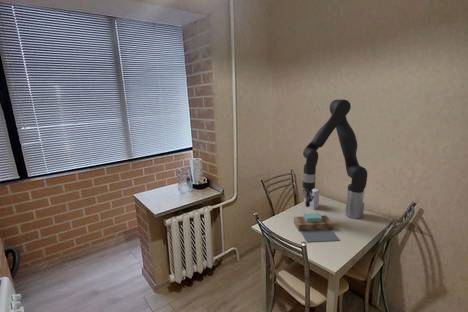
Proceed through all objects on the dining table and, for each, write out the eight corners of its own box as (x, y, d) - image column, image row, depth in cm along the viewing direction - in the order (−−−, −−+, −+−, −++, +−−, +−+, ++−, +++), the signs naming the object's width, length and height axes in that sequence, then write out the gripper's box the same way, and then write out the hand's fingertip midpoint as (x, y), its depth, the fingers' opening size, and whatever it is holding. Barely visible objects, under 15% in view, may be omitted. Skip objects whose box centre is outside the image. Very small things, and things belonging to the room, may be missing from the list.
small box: (318, 207, 173) (319, 189, 170) (313, 210, 169) (314, 192, 166) (308, 203, 179) (309, 186, 176) (303, 206, 176) (304, 189, 173)
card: (318, 216, 152) (318, 213, 151) (322, 221, 146) (322, 217, 145) (303, 217, 151) (303, 213, 151) (306, 222, 145) (307, 218, 145)
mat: (331, 230, 144) (331, 229, 144) (340, 240, 133) (340, 240, 133) (300, 231, 143) (300, 231, 143) (306, 242, 133) (306, 241, 132)
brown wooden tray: (325, 221, 154) (326, 215, 153) (332, 229, 144) (333, 223, 143) (293, 222, 153) (294, 216, 153) (298, 231, 144) (298, 224, 143)
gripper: (319, 183, 146) (317, 210, 150) (311, 176, 159) (309, 202, 163) (306, 184, 146) (304, 211, 150) (299, 177, 159) (298, 202, 163)
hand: (307, 206), depth 156 cm, fingers closed
